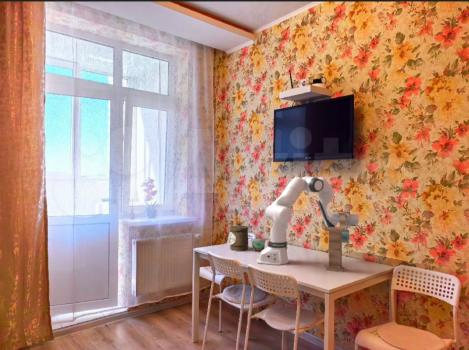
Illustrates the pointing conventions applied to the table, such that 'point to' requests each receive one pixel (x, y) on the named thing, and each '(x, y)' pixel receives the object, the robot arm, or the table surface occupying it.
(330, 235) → the stand
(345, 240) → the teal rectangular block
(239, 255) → the table surface
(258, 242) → the food container
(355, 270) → the table surface
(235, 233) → the wooden container
